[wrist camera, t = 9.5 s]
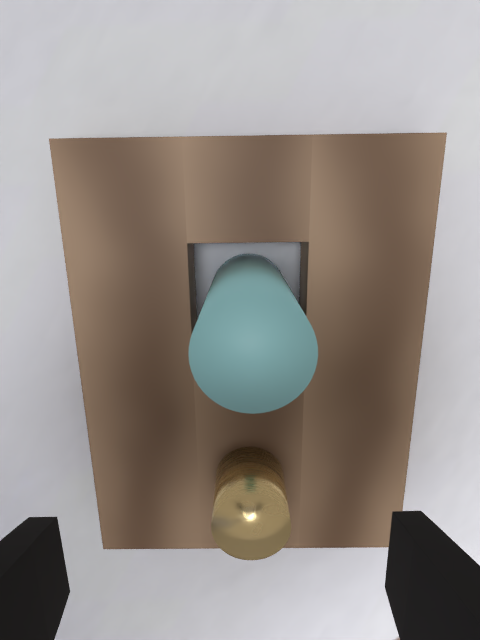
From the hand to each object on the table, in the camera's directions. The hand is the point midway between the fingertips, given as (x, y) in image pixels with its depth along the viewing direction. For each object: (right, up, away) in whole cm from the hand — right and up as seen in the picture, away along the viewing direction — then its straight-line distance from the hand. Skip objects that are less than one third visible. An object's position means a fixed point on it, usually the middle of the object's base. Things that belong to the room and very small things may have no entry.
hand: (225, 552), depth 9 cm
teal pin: (+1, +6, +9) cm, 11 cm away
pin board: (+1, +3, +10) cm, 10 cm away
